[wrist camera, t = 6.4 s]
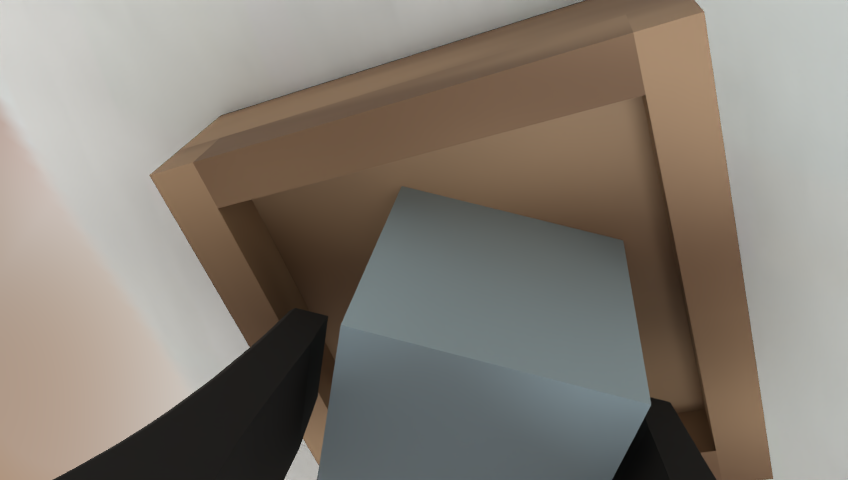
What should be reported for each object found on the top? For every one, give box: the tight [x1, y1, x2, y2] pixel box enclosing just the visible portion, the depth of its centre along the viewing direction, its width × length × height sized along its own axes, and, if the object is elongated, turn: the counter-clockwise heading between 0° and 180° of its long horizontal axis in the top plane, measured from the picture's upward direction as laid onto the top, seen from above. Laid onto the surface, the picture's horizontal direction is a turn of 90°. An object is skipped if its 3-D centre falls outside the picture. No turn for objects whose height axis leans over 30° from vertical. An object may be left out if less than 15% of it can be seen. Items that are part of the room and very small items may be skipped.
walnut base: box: [150, 0, 773, 480], centre depth 15 cm, size 10×10×3 cm
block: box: [317, 186, 651, 480], centre depth 12 cm, size 4×4×4 cm
